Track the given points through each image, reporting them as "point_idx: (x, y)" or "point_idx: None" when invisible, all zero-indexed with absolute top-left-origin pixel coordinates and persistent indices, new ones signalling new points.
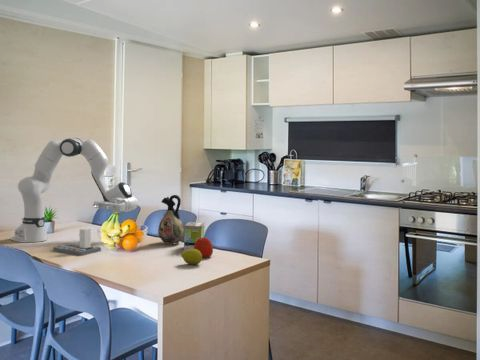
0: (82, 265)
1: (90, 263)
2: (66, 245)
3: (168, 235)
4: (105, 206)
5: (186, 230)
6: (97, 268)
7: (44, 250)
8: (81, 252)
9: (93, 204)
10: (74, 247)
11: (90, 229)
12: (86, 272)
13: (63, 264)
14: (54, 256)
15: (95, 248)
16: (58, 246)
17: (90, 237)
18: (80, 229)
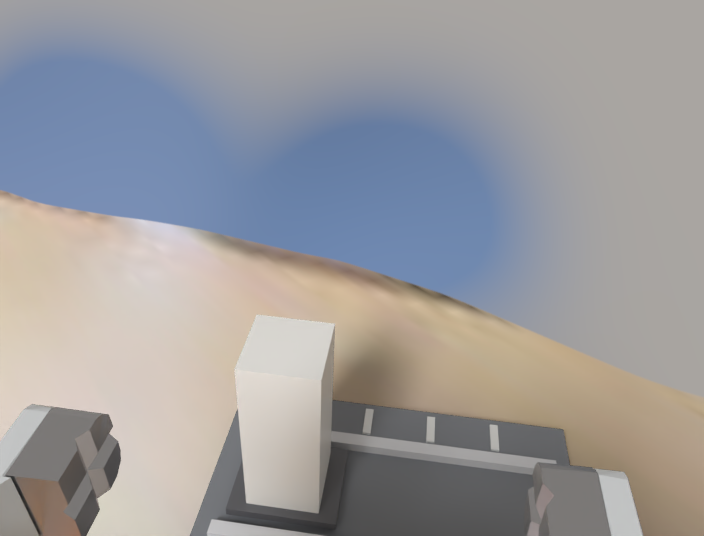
0: (111, 266)
1: (84, 298)
2: None
3: None
4: (85, 411)
5: None
6: (8, 251)
7: (634, 444)
8: None
9: (599, 469)
10: (413, 490)
11: (235, 373)
12: (41, 208)
13: (220, 256)
14: (399, 345)
15: (200, 529)
16: None
17: (241, 438)
18: (321, 324)
